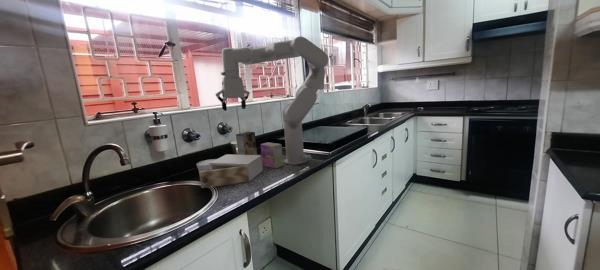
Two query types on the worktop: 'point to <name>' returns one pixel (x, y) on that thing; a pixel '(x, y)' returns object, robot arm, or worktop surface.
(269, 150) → the box
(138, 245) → the worktop surface
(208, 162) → the ramekin
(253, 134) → the coffee box
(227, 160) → the box
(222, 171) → the door
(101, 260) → the worktop surface
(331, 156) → the worktop surface
